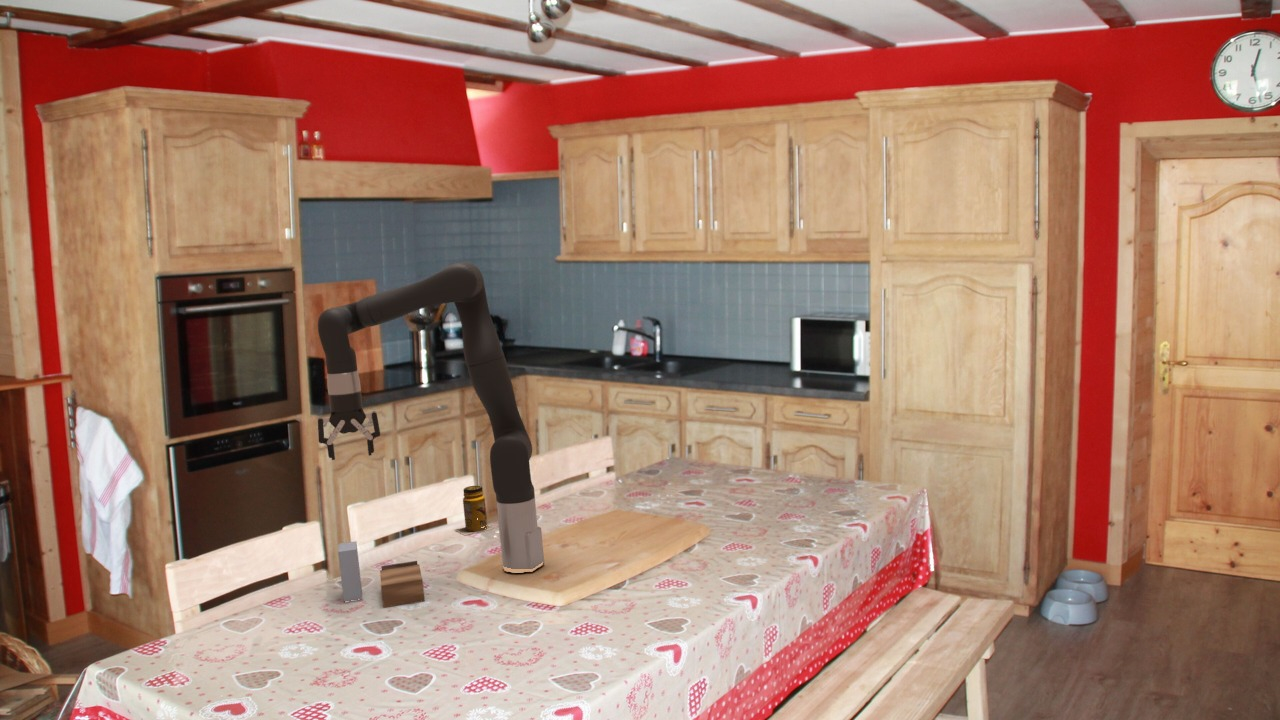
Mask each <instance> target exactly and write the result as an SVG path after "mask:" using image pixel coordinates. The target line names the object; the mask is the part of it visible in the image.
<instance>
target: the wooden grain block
mask: <svg viewBox="0 0 1280 720" xmlns="http://www.w3.org/2000/svg"><path fill="white" fill-rule="evenodd" d="M380 567H381V569H380V570H379V574H380V575H379V576H380V588H381V596H382V604H383V605H382V606H383V608H390V607H395V606H401V605H407V604H412V603H419V602H425V592H424V583H423V576H422V571H421V568H420V564H419V563H418V560H413V561H405V562H400V563H399V562H398V563H393V564H386V565H381V566H380Z"/></svg>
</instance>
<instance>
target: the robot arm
mask: <svg viewBox="0 0 1280 720" xmlns="http://www.w3.org/2000/svg"><path fill="white" fill-rule="evenodd" d="M485 287H486V286H485V281H484V277H483V274H482V272H481V271H480V269H479V268H478V267H477V266H475V265H474V264H473V263H471V262H467V261H461V262H455V263H451V264H449V265H448V266H446V267H445V268H444V269H442V270H440V271H438V272H436V273H434V274H432V275H429V276H428V277H426V278H423V279H421V280H419V281H416V282H413V283H410V284H407V285H404V286H400V287H395V288H392V289H389V290H385V291H380V292H379V293H378V292H377V293H375V294H372V295H369V296H366V297H363V298H361V299H360V300H358V301H355V302H354V301H353V302H352V303H347V304H344V305H340V306H337V307H331V308H327V309H325V310H324V311H322V312H321V313H320V315H319V316H318V321H317V332H318V337H319V339H320V344H321V346H322V349H323V351H324V355H325V363H326V364H325V365H326V375H327V378H326V379H327V380H326V384H327V393H328V401H329V402H328V403H329V409H330V411H329V412H330V416H329V417H321V416H319V417H318V419H317V432H318V434H317V435H318V443H319V444H324V445H326V446H327V447H326V448H327V455H328V458H329V459H331V460H332V461H335V460H336V453H335V447H334V441H335V439H336V438H337V437H338V435H339V433H340V434H342V435H344V434H348V433H357V432H358V431H359V432H360V433H361V434H362V435H363V436H364V437H365V438H366V445H367V454H368V456H369V457H370V456H372V455H373V454H374V452H375V445H374V439H376V438H378V437H380V436H381V430H380V425H379V424H380V423H379V418H378V413H377V411H375V410H373V411H371V412H366V413H365V411H364V408H363V407H364V406H363V399H362V398H363V397H362V390H361V389H362V385H361V380H360V375H359V372H358V371H359V370H358V363H357V362H358V361H357V355H356V354H357V353H356V351H355V349H354V348H353V347H351V343H350V339H349V335H350V334H353V333H356V332H359V331H360V330H364V329H366V328H369V327H374V326H378V325H381V324H384V323H388V322H390V321H394V320H397V319H399V318H402V317H404V316H406V315H407V316H408V315H409V314H412V313H414V312H416V311H419V310H421V309H424V308H428V307H432V306H433V307H434V306H437V305H442V304H450V303H454V305H455V309H456V311H457V313H458V317H459V319H460V320H459V321H460V324H461V329H462V330H461V331H462V346H463V347H462V348H463V356H464V360H465V365H466V368H467V372H468V374H469V378H470V382H471V385H472V387H473V390H474V391H475V394H476V396H477V397H478V399H479V401H480V403H481V404H482V406H483V407H484V409H485V411H486V413H487V415H488V418H489V421H490V422H489V423H490V425H491V428H492V429H491V431H492V435H493V439H494V442H493V443H492V445H491V448H490V452H489V461H490V463H489V464H490V471H491V480H492V487H493V492H494V493H495V499H496V509H497V519H498V520H497V521H498V531H499V540H500V541H499V542H500V552H501V561H502V567H503V566H504V567H507V568H511V569H533V568H535V567H536V566H538V565H539V564H541V563H542V562H544V563H545V554H544V553H545V552H544V545H543V533H542V527H541V526H538V518H537V516H538V515H537V507H536V497H535V496H536V495H535V487H534V484H533V482H532V477H531V467H530V465H531V464H530V461H531V457H532V455H533V445H532V441H531V438H530V437H529V434H528V432H527V430H526V427H525V425H524V422H523V420H522V419H523V418H522V417H521V414H520V412H519V408H518V404H517V401H516V396H515V391H514V386H513V383H512V382H513V381H512V379H511V375H510V370H509V366H508V364H507V360H506V357H505V353H504V350H503V348H502V345H501V342H500V339H499V335H498V333H497V330H496V328H495V325H494V322H493V319H492V316H491V313H490V312H491V311H490V307H489V303H488V298H487V292H486V288H485ZM366 419H368V421H369V422H372V425H373V432H370V431H369V430H368V428H367V427H365V426H364V422H365V420H366ZM328 423H330V424H331V425H332V426H333V428H334V429H333V430H332V432H331V434H330V435H329V436H328V437H325V428H326V427H327V425H328Z"/></svg>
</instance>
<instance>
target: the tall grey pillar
mask: <svg viewBox="0 0 1280 720" xmlns="http://www.w3.org/2000/svg"><path fill="white" fill-rule="evenodd" d="M357 544H358V542H357V540H356V541H348V542H343V543H338V546H337V547H338V548H337V549H338V550H337V552H338V553H337V554H338V563H339V570H340V580H341V589H342V597H343V602H344V601H351V600H358V599H362V600H363V587H362V580H361V579H362V578H361V569H360V562H359V561H360V560H359V552H358V545H357Z"/></svg>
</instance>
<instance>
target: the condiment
mask: <svg viewBox="0 0 1280 720" xmlns="http://www.w3.org/2000/svg"><path fill="white" fill-rule="evenodd" d="M462 491H463V498H462V504H463V513H464V524H465V527H461V528H456V529H454V531H456V532H458V533H459V534H462V535H464V536H467V535H472V534H475V533H481V532H485V531H490V530H493V529H494V528H492V527H491V528H487V527H489V526H488V518H487V509H486V497H485V495H484V491H483V486H481V485H471V486H470V485H469V486H466V487H464V488H463V490H462ZM477 518H478V520H477ZM486 525H487V526H486ZM483 526H485V527H484V528H481V527H483ZM485 528H486V529H485Z"/></svg>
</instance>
